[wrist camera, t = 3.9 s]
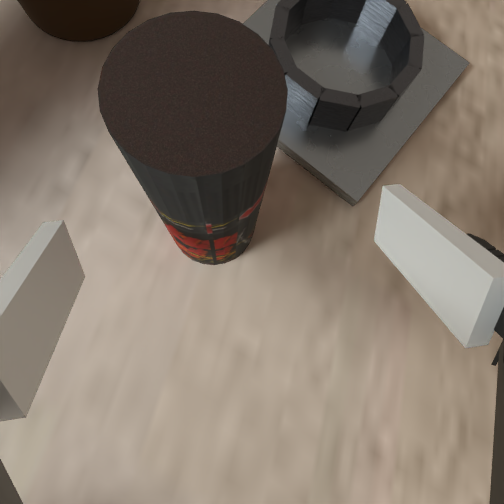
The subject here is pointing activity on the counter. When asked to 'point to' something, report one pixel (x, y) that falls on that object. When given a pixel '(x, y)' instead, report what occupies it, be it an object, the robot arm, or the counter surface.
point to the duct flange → (353, 83)
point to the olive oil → (80, 17)
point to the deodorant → (197, 124)
